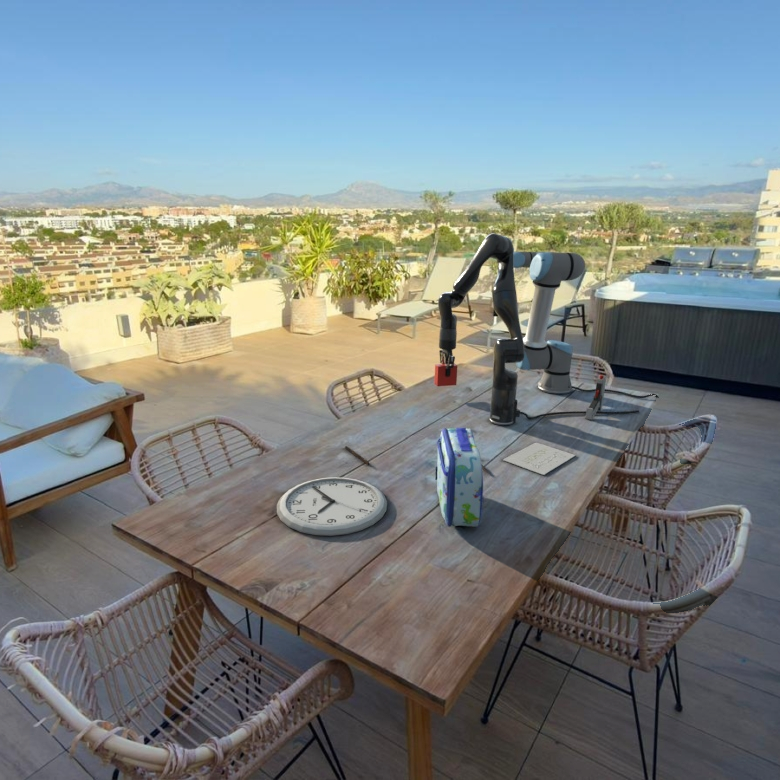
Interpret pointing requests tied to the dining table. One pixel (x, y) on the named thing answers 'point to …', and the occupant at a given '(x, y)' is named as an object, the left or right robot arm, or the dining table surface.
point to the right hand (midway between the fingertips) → (501, 318)
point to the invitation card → (539, 458)
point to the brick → (442, 379)
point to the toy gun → (597, 398)
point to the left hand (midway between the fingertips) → (445, 374)
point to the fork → (484, 469)
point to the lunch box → (459, 478)
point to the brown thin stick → (357, 455)
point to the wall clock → (331, 506)
